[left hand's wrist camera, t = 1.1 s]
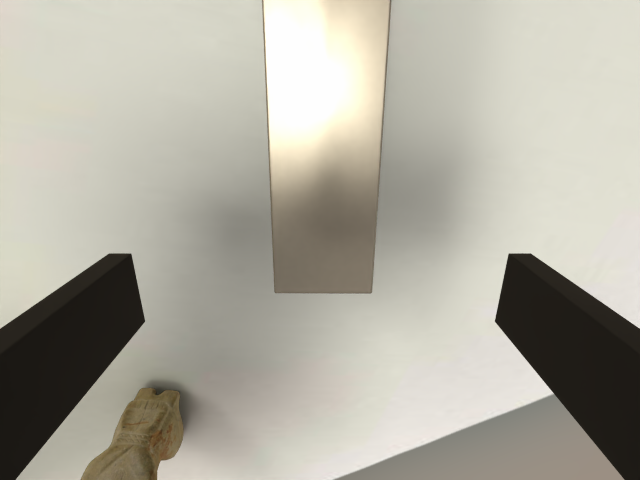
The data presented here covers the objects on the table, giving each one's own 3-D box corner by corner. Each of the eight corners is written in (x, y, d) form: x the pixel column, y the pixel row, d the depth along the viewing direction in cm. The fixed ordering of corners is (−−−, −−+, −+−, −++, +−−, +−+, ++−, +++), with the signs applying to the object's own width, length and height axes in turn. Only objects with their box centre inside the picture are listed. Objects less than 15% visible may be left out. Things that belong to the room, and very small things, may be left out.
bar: (356, 240, 28) (372, 293, 20) (286, 239, 28) (274, 293, 20) (374, -148, 20) (413, -325, 12) (276, -149, 20) (247, -328, 12)
